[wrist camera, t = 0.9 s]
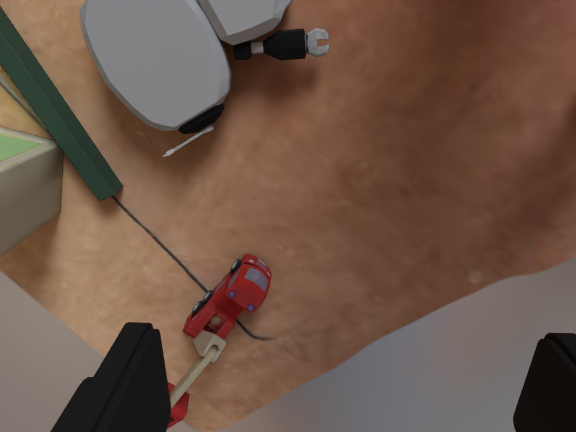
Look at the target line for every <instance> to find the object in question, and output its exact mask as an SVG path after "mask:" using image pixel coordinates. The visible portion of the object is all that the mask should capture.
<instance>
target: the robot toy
mask: <svg viewBox="0 0 576 432" xmlns="http://www.w3.org/2000/svg"><path fill="white" fill-rule="evenodd" d="M291 2H292V0H85V2H84V4H83V6H82V7H81V9H80V17H81V29H82V33H83V36H84V39H85V42H86V44H87V47H88V50H89V52H90V55H91V57H92V58H93V60H94V62H95V64H96V66H97V68H98V70H99V72H100V74H101V76H102V78H103V80H104V82H105V84H106V85H107V86H108V87H109V89H110V90H111V91H112V92H113V93H114V94H115V95H116V96H117V97H118V98H119V99H120V100H121V102H122V103H123V104H124V105H125V106H126V107H127V108H128V109H129V110H130V111H131V112H132V113H133V114H135V115H136V116H137V117H138V118H139V119H140V120H142V121H143V122H144V123H146V124H147V125H149V126H151V127H154V128H156V129H158V130H161V131H172V130H178V131H180V132H181V133H182V134H189V133H196V132H199V131H201V130H203V129H204V130H203V131H201V132H199V133H198V134H196V135H194V136H193V137H191V138H190V139H188V140H186V141H185V142H183V143H181V144H180V145H178V146H177V147H175V148H173V149H171V150H169V151H167V152H166V153H165V155H164V156H169V155H171V154H172V153H174V151H176V150H177V149H179V148H181V147H182V146H184V145H186V144H187V143H189V142H190V141H192V140H194V139H195V138H197V137H198V136H200V135H202V134H203V133H205V132H206V133H208V132H209V131H211V130H212V129H214V128H213V126H212V125H211V124H213V123H215V121H216V120H217V119H218V117H219V116H220V115H221V113H222V111H223V110H224V105H223V101H224V99H225V98H226V96H227V95H228V93H229V91H230V90H231V68H230V63H229V60H228V56H227V52H226V49H225V47H224V44H223V42H222V41H225V42H227V43H229V44H231V45H233V49H234V57H235V60H248V59H250V58H251V57H252V54H255V53H265V54H267V55H269V56H271V57H274V58H276V59H279V60H293V59H305V57H306V53H308V54H310V55H312V56H314V57H320V56H323V55H326V53H327V52H328V50H329V44H327V45H325V46H319V47H317V39H326V40H329V36H328V33H327V32H326V31H325V30H324V29H318V28H315V29H313V30H311V31H310V32H308V33H307V34H306V35H305V31H304V29H295V30H282V31H278V32H276V33H274V34H273V35H271V36H269V37H268V38H267V39H265V40H264V41H260V42H251V40H254V39H257V38H259V37H261V36H263V35H265V34H267V33H270V32H272V31H273V30H274V29H275V28H276V27H277V25H278V24H279V23H280V22H281V20H282V16H283V13H284V11H285V10H286V8H287V7H288V6H289V4H290V3H291ZM164 156H163V157H164Z"/></svg>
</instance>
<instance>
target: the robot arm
mask: <svg viewBox="0 0 576 432" xmlns="http://www.w3.org/2000/svg"><path fill="white" fill-rule="evenodd" d="M170 416H171V401H170V395H169V388H168V382H167V375H166V369H165V362H164V356H163V349H162V343H161V336H160V331H159V330H158V329H153V326H152V324H151V323H135V322H128V323H126V324H125V325H124V327H123V328H122V330H121V332H120V333H119V335H118V337H117V338H116V340H115V342H114V343H113V345H112V347H111V348H110V350H109V352H108V353H107V355H106V357H105V358H104V360H103V362H102V363H101V365H100V367H99V369H98V370H97V372H96V374H95V375H94V377H87V378H86V379H85V380H84V381H82V383H81V384H80V385H79V387H78V388H77V390H76V392H75V393H74V395H73V396H72V398H71V400H70V401H69V403H68V405H67V406H66V408H65V409H64V411H63V412H62V414H61V416H60V417H59V419H58V420H57V422H56V424H55V425H54V427H53V428H52V430H51V432H166V430H167V427H168V424H169V421H170ZM513 423H514V428H515V430H516V432H576V334H574V333H548V334H547V335H545V338H544V339H540V340H539V342H538V344H537V347H536V350H535V353H534V356H533V359H532V362H531V365H530V368H529V371H528V374H527V377H526V380H525V383H524V386H523V389H522V392H521V394H520V397H519V400H518V404H517V406H516V410H515V412H514V416H513Z"/></svg>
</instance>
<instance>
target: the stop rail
mask: <svg viewBox="0 0 576 432" xmlns="http://www.w3.org/2000/svg"><path fill="white" fill-rule="evenodd" d="M0 64H1V66H2V67H3V68H4V70H5V71H6V72H7V74H8V75H9V77H10V78H11V79H12V81H13V82H14V84H15V85H16V86H17V88H18V89H19V91H20V92H21V93H22V95H23V96H24V98H25V99H26V100H27V102H28V103H29V104H30V106H31V107H32V109H33V110H34V111H35V113H36V114H37V116H38V117H39V118H40V120H41V121H42V123H43V124H44V125H45V127H46V128H47V130H48V131H49V132H50V134H51V135H52V136H53V138H54V139H55V141H56V142H57V143H58V145H59V146H60V148H61V149H62V150H63V152H64V153H65V155H66V156H67V157H68V159H69V160H70V162H71V163H72V164H73V166H74V167H75V168H76V170H77V171H78V173H79V174H80V175H81V177H82V178H83V180H84V181H85V182H86V184H87V185H88V187H89V188H90V189H91V191H92V192H93V194H94V195H95V196H96V198H97V199H98V200H99V202H100V201H102V200H104V199H106V198H108V197H110V196H113V195H114V194H115V193H117V192H118V191H119V190H120V189H121V188H122V187H123V185H122V184H121V182H120V181H119V179H118V178H117V176H116V175H115V174H114V172H113V171H112V169H111V168H110V166H109V165H108V163H107V162H106V160H105V159H104V157H103V156H102V155H101V153H100V152H99V150H98V149H97V147H96V146H95V144H94V143H93V141H92V140H91V138H90V137H89V135H88V134H87V133H86V131H85V130H84V128H83V127H82V125H81V124H80V122H79V121H78V119H77V118H76V116H75V115H74V114H73V112H72V111H71V109H70V108H69V106H68V105H67V103H66V102H65V100H64V99H63V97H62V96H61V94H60V93H59V92H58V90H57V89H56V87H55V86H54V84H53V83H52V81H51V80H50V78H49V77H48V75H47V74H46V73H45V71H44V70H43V68H42V67H41V65H40V64H39V62H38V61H37V59H36V58H35V56H34V55H33V53H32V52H31V51H30V49H29V48H28V46H27V45H26V43H25V42H24V40H23V39H22V37H21V36H20V34H19V33H18V32H17V30H16V29H15V27H14V26H13V24H12V23H11V21H10V20H9V18H8V17H7V15H6V14H5V12H4V11H3V10H2V8H1V7H0Z"/></svg>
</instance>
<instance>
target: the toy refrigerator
mask: <svg viewBox="0 0 576 432" xmlns="http://www.w3.org/2000/svg"><path fill="white" fill-rule="evenodd" d="M62 167H63V150H62V149H61V148H60V146H59V145H58V143H57V142H56V141H54V140H50V139H46V138H42V137H38V136H34V135H30V134H27V133H23V132H19V131H15V130H11V129H7V128H4V127H0V257H1V256H2V255H3V254H5V253H6V252H7V251H9V250H10V249H11V248H13V247H14V246H16V245H17V244H18V243H20V242H21V241H22V240H24V239H25V238H26V237H28V236H29V235H30V234H31V233H33V232H34V231H36V230H37V229H38V228H39V227H41V226H42V225H43V224H45V223H46V222H47V221H49V220H50V219H51V218H53V217H54V216H55V215H57V214H58V213H59V211H60V205H61V185H62Z"/></svg>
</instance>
